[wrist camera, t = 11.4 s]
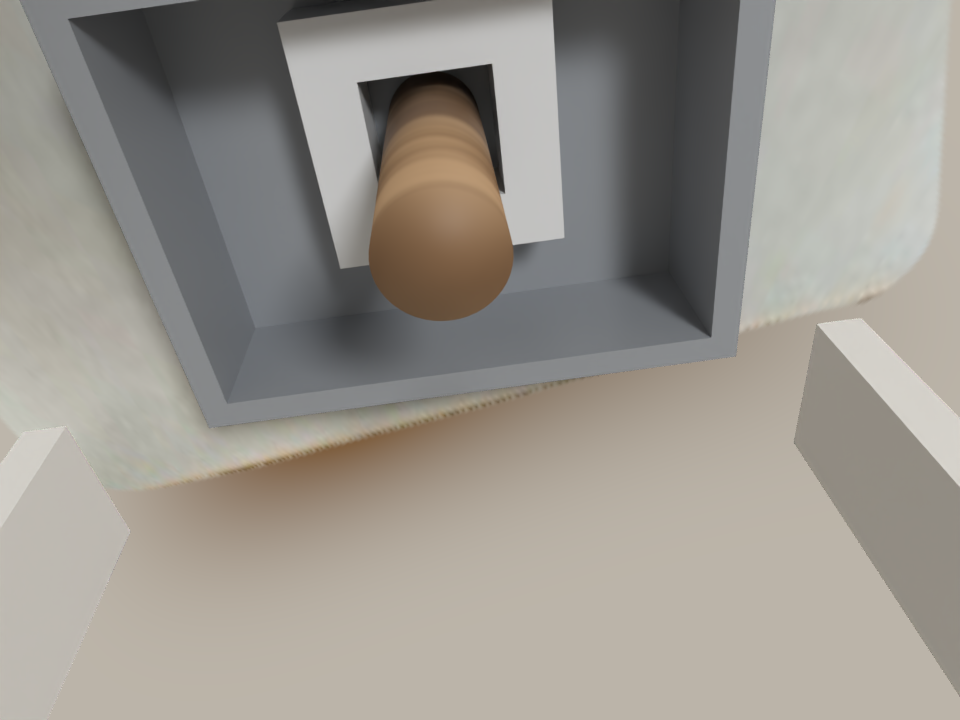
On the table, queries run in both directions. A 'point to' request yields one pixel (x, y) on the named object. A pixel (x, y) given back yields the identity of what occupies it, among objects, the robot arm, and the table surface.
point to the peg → (438, 205)
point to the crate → (356, 168)
